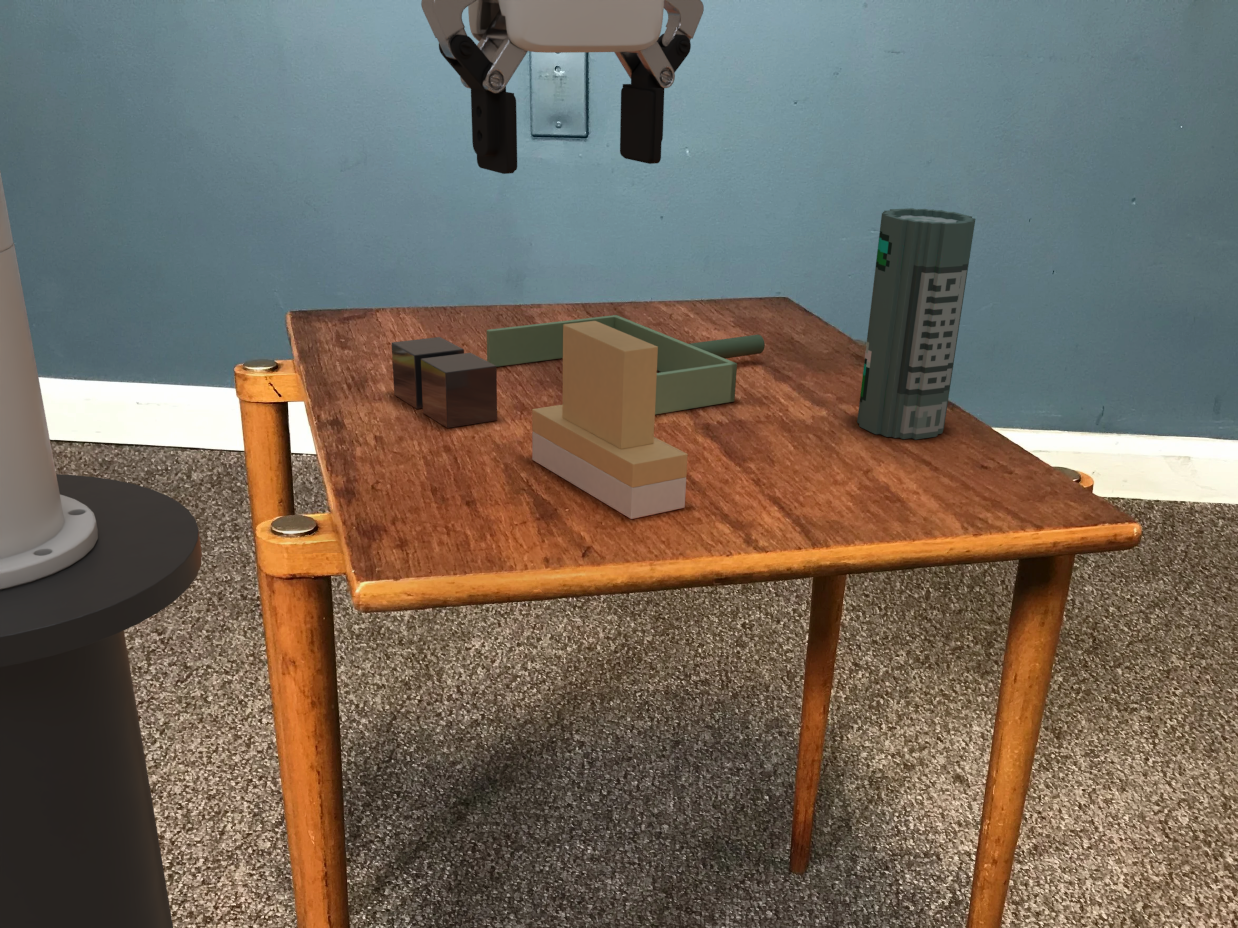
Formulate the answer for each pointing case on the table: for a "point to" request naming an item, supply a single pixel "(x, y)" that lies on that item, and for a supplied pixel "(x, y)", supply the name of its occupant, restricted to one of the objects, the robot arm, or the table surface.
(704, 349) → the green u-shaped rake
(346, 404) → the table surface
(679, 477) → the wooden block stamp
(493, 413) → the black cube
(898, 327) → the can
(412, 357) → the black metallic cube
